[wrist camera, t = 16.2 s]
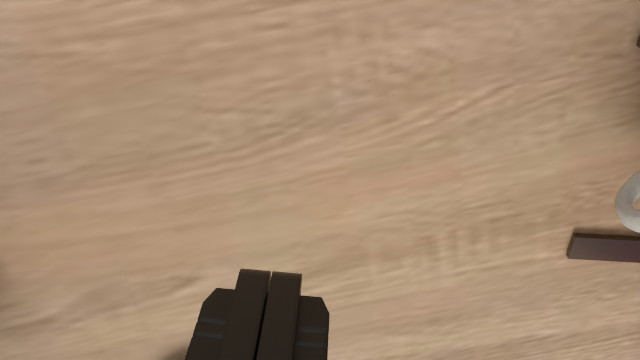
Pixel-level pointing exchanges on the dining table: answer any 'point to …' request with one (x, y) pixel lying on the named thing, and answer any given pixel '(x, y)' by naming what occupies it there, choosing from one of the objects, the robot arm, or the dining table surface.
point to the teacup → (629, 203)
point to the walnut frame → (605, 245)
